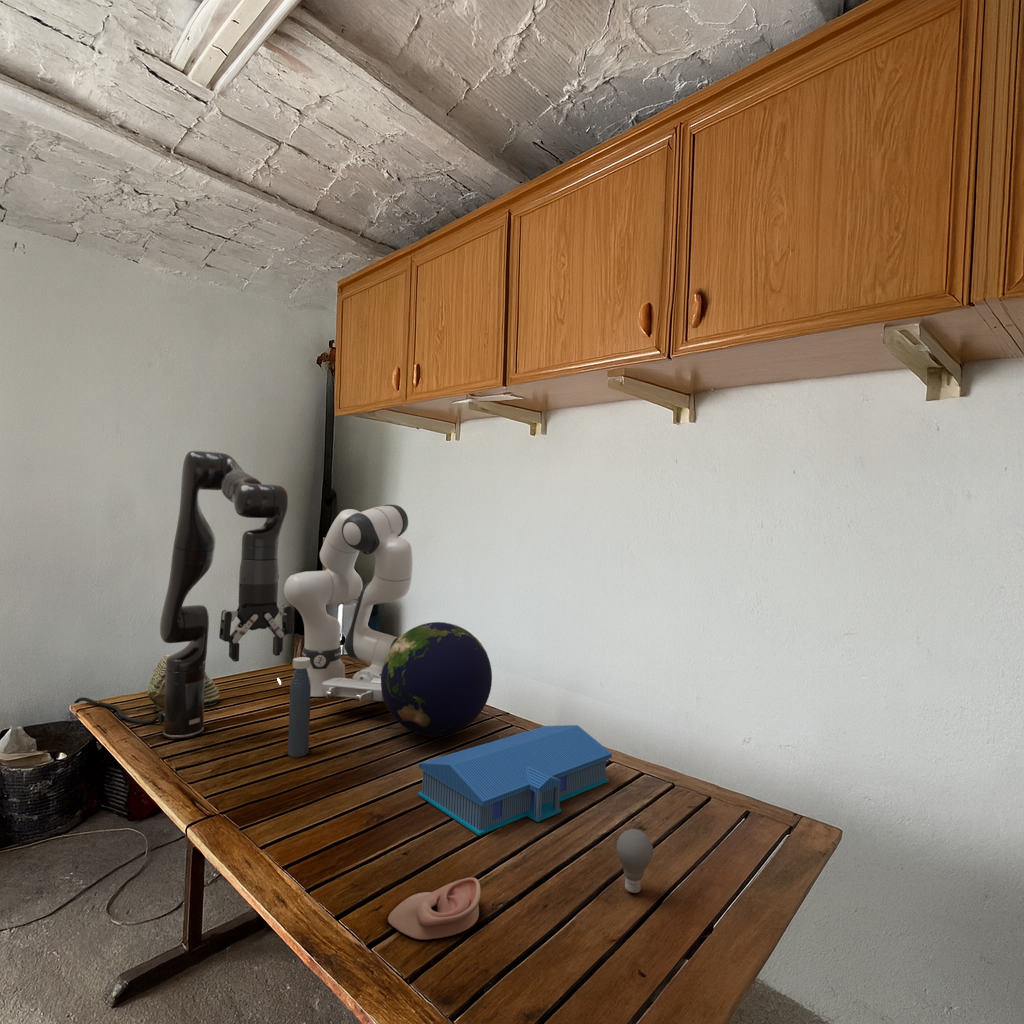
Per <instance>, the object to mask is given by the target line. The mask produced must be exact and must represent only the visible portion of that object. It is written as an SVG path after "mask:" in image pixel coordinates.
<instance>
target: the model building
mask: <svg viewBox="0 0 1024 1024" xmlns="http://www.w3.org/2000/svg"><path fill="white" fill-rule="evenodd" d="M612 758H613V753H612V752H611V751H610V750H609V749H608V748H606V747H605V746H604V745H603V744H601V743H600V742H599V741H597V740H596V739H595V738H594V737H593V736H591V735H590V733H588V732H587V731H586V730H584V729H583V728H582V727H581V726H579V725H578V724H571V725H569V724H567V725H544V726H541V727H538V728H533V729H530V730H526V731H524V732H520V733H517V734H514V735H510V736H505V737H504V738H500V739H497V740H493V741H489V742H486V743H484V744H480V745H476V746H473V747H469V748H466V749H463V750H459V751H457V752H456V751H455V752H452V753H449V754H446V755H442V756H439V757H436V758H432V759H428V760H425V761H422V762H418V769H420V770H421V771H422V782H421V783H422V785H421V791H419V792H417V796H419V797H420V798H421V799H423V800H425V802H428V803H429V804H431V805H432V806H433V807H435V808H436V809H438V810H439V811H441V812H443V813H444V814H445V815H447V816H449V817H450V818H452V819H453V820H455V821H456V822H458V823H459V824H461V825H462V826H464V827H465V828H467V829H468V830H470V831H471V832H473V833H474V834H476V835H477V836H478V837H480V836H482V835H485V834H487V833H489V832H491V831H494V830H496V829H499V828H501V827H504V826H506V825H508V824H511V823H514V822H515V821H518V820H520V819H524V818H525V817H527V818H530V819H531V820H532V821H535V822H536V823H539V822H541V821H543V820H546V819H549V818H551V817H553V816H555V815H558V814H560V813H562V808H561V807H560V806H561V805H560V804H561V802H563V801H566V800H568V799H570V798H573V797H575V796H577V795H580V794H582V793H585V792H587V791H590V790H591V789H594V788H597V787H599V786H601V785H603V784H606V783H609V782H610V779H609V778H607V777H606V775H607V774H606V773H607V760H610V759H612Z"/></svg>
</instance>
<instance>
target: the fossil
mask: <svg viewBox="0 0 1024 1024" xmlns="http://www.w3.org/2000/svg"><path fill="white" fill-rule="evenodd" d="M171 655H172V654H165V655H164V656H163V657H162V658H161V659H160V660H159V662H158V663H157V666H156V667H155V669H154V670H153V672H152V675H151V677H150V680H149V684H148V688H147V697H148V699H149V700H150V701H152V703H153V704H154V706H155V711H158V712H161V711H164V705H165V674H166V660H167V658H168V657H169V656H171ZM220 698H221V696H220V690H219V688H218V686H217V685H216V683H215V682H214V681H213V679H212V678H211V677H209V675H208V674H207V672H206V671H205V693H204V707H207V706H213V705H215V704H217V703H218V701H219V699H220Z"/></svg>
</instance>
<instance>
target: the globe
mask: <svg viewBox="0 0 1024 1024" xmlns="http://www.w3.org/2000/svg"><path fill="white" fill-rule="evenodd" d="M398 638H399V639H398V640H397V641H396V642H395V643H394V644H393V645H392V647H391V648H390V650H389V652H388V654H387V656H386V658H385V661H384V664H383V667H382V673H381V690H382V695H383V698H384V701H383V702H384V703H385V706H386V708H387V710H388V711H389V713H390V715H391V716H392V717H393V718H394V719H395V721H397V722H398V723H399V724H400V725H401V726H402V727H404V728H405V729H406V730H409V731H410V732H412V733H415V734H417V735H421V736H424V737H443V736H444V737H445V736H449V735H452V734H455V733H457V732H459V731H461V730H464V729H465V728H467V727H468V726H469V725H470V724H472V723H473V722H474V721H475V720H476V719H477V718H478V717H479V716H480V714H481V713H482V711H483V710H484V708H485V706H486V704H487V702H488V700H489V698H490V694H491V690H492V684H493V683H492V682H493V671H492V666H491V660H490V658H489V656H488V652H487V651H486V649H485V647H484V645H483V644H482V643H481V642H480V640H479V639H478V638H477V637H476V636H475V635H473V634H472V633H471V632H469V631H468V630H467V629H466V628H463V627H461V626H460V625H457V624H453V623H450V622H445V621H434V622H432V621H431V622H428V623H423V624H419V625H416V626H415V627H413V628H411V629H409V630H407V631H406V632H404V633H403V634H402V635H401V636H399V637H398Z"/></svg>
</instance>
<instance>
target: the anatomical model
mask: <svg viewBox="0 0 1024 1024" xmlns="http://www.w3.org/2000/svg"><path fill="white" fill-rule="evenodd" d="M481 894H482V893H481V884H480V881H479V880H478V879H477V878H476V877H464V878H461V879H458V880H455V881H453V882H450V883H448V884H446V885H443V886H441V887H440V888H437V889H435V890H433V891H431V892H430V891H426V892H425V891H424V892H418V893H415V894H413V895H410V896H408V897H407V898H406V899H404V900H403V901H401V902H400V903H398V905H397V906H396V907H394V909H393V910H392V911H391V912H390V913H389V915H388V917H387V922H388V924H389V925H391V927H393V928H394V929H396V930H397V931H398V932H400V933H401V934H404V935H405V936H407V937H410V938H412V939H414V940H433V939H440V938H446V937H451V936H454V935H457V934H460V933H463V932H464V931H467V930H468V929H470V928H472V927H473V926H474V925H475V924H476V923H477V922H478V920H479V917H480V916H479V915H480V907H479V903H480V900H481Z"/></svg>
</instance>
